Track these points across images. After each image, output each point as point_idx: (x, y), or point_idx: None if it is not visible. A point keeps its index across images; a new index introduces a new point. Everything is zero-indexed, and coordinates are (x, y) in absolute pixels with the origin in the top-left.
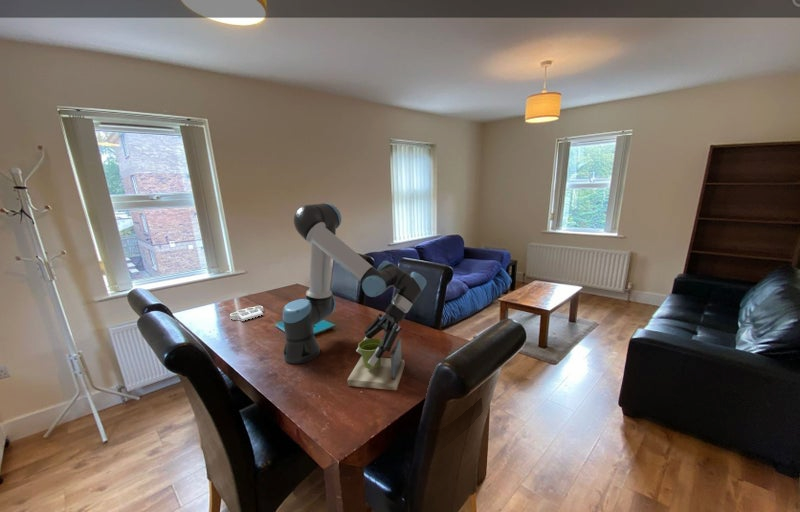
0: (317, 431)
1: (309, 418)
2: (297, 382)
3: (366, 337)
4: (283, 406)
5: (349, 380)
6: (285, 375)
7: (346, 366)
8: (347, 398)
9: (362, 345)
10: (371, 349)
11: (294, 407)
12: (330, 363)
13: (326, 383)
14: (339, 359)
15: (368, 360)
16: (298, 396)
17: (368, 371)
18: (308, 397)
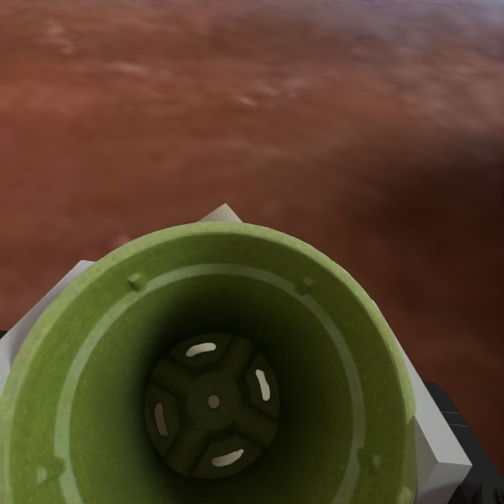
0: (63, 12)
1: (148, 25)
2: (400, 87)
3: (435, 457)
4: (281, 3)
5: (215, 212)
6: (480, 78)
7: (402, 313)
8: (135, 168)
9: (352, 349)
10: (308, 466)
11: (248, 20)
12: (481, 260)
13: (314, 160)
14: (500, 321)
15: (163, 319)
16: (303, 53)
17: (204, 350)
18: (270, 71)
